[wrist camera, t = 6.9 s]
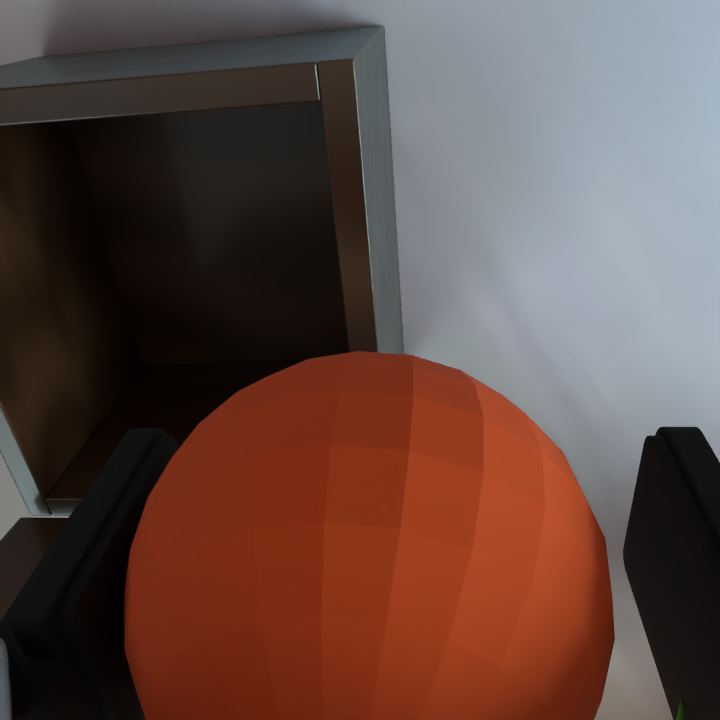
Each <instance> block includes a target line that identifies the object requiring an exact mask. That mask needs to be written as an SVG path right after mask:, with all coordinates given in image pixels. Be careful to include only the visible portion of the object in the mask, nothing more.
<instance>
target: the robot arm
mask: <svg viewBox="0 0 720 720" xmlns="http://www.w3.org/2000/svg"><path fill="white" fill-rule="evenodd" d="M177 451H178V446H177V442H176V440H175V438H174V437H172V436H167V434H166V432H165V431H164V430H163V429H160V428H140V429H130V430H128V432H127V433H126V434H125V435H124V437H123V439H122V440H121V442H120V443H119V445H118V446H117V448H116V449H115V451H114V452H113V454H112V455H111V457H110V458H109V460H108V461H107V463H106V465H105V466H104V468H103V469H102V471H101V472H100V474H99V475H98V477H97V478H96V480H95V481H94V483H93V484H92V486H91V487H90V489H89V491H88V492H87V494H86V495H85V497H84V498H83V500H82V501H81V503H80V504H78V506H77V507H76V508H75V509H74V510H73V512H72V513H71V515H70V516H69V518H68V519H67V521H66V522H65V524H64V525H63V527H62V528H61V530H60V531H59V533H58V535H57V536H56V538H55V539H54V541H53V542H52V544H51V545H50V547H49V548H48V550H47V551H46V553H45V554H44V556H43V557H42V559H41V560H40V562H39V563H38V565H37V566H36V568H35V569H34V571H33V573H32V574H31V576H30V577H29V579H28V580H27V582H26V583H25V585H24V586H23V588H22V589H21V591H20V592H19V594H18V595H17V597H16V598H15V600H14V601H13V603H12V604H11V606H10V608H9V609H8V611H7V612H6V614H5V615H4V617H3V618H2V620H1V621H0V720H142V718H143V715H144V713H143V710H142V707H141V704H140V701H139V698H138V695H137V692H136V689H135V686H134V682H133V679H132V675H131V672H130V668H129V664H128V661H127V657H126V654H125V650H124V597H125V583H126V576H127V569H128V562H129V555H130V549H131V546H132V543H133V540H134V537H135V534H136V531H137V528H138V525H139V522H140V519H141V516H142V513H143V510H144V507H145V504H146V501H147V498H148V497H149V495H150V493H151V491H152V490H153V488H154V486H155V485H156V483H157V481H158V480H159V478H160V476H161V475H162V473H163V471H164V470H165V468H166V466H167V465H168V463H169V461H170V460H171V458H172V457H173V456H174V454H175V453H176V452H177ZM623 559H624V566H625V570H626V573H627V576H628V579H629V583H630V586H631V589H632V592H633V595H634V598H635V601H636V604H637V608H638V611H639V614H640V617H641V620H642V623H643V626H644V629H645V632H646V636H647V639H648V642H649V645H650V648H651V651H652V654H653V657H654V660H655V664H656V667H657V670H658V673H659V676H660V679H661V682H662V685H663V688H664V692H665V695H666V698H667V701H668V704H669V707H670V710H671V713H672V716H673V720H676V719H677V714H678V709H679V704H680V700H681V702H682V705H683V720H720V462H719V461H718V459H717V457H716V456H715V454H714V452H713V450H712V449H711V447H710V445H709V444H708V442H707V440H706V438H705V437H704V435H703V433H702V432H701V430H700V429H699V428H697V427H660V428H659V429H658V430H657V432H656V436H647V437H646V439H645V442H644V446H643V451H642V456H641V461H640V466H639V471H638V476H637V481H636V487H635V492H634V497H633V502H632V507H631V512H630V517H629V522H628V527H627V532H626V537H625V542H624V548H623Z"/></svg>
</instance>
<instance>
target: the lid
mask: <svg viewBox="0 0 720 720" xmlns="http://www.w3.org/2000/svg"><path fill="white" fill-rule="evenodd" d="M67 519H68V518H20V519H19V520H18V522H16V523H15V525H14V526H13V527H12V528H11V529H10V530H9V531H8V533H7V534H6V535H5V536H4V538H2V539H1V541H0V621H1V620H2V618H3V617H4V615H5V614H6V612H7V611H8V609H9V608H10V606H11V604H12V603H13V601H14V600H15V598H16V597H17V595H18V594H19V592H20V591H21V589H22V588H23V586H24V585H25V583H26V582H27V580H28V579H29V577H30V576H31V574H32V573H33V571H34V569H35V568H36V566H37V565H38V563H39V562H40V560H41V559H42V557H43V556H44V554H45V553H46V551H47V550H48V548H49V547H50V545H51V544H52V542H53V541H54V539H55V538H56V536H57V535H58V533H59V531H60V530H61V528H62V527H63V525H64V524H65V522H66V521H67ZM142 720H146V719H145V716H144V715H143V718H142Z"/></svg>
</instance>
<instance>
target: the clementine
mask: <svg viewBox="0 0 720 720" xmlns="http://www.w3.org/2000/svg"><path fill="white" fill-rule="evenodd" d="M614 640H615V636H614V619H613V603H612V591H611V582H610V574H609V566H608V558H607V549H606V541H605V537H604V535H603V533H602V531H601V529H600V527H599V525H598V523H597V521H596V518H595V516H594V514H593V512H592V510H591V508H590V506H589V504H588V502H587V500H586V498H585V496H584V493H583V491H582V489H581V487H580V485H579V483H578V481H577V479H576V477H575V475H574V473H573V471H572V469H571V467H570V465H569V464H568V462H567V460H566V458H565V456H564V454H563V452H562V451H561V450H560V449H559V448H558V447H557V446H556V445H555V444H554V443H553V442H552V441H551V439H550V438H549V437H548V436H547V435H546V434H545V433H544V432H543V431H542V430H541V429H540V428H539V427H538V426H537V425H536V424H535V423H534V422H533V421H532V420H531V419H530V418H529V417H528V416H527V415H526V414H525V413H524V412H523V411H522V410H520V409H519V408H518V407H517V406H515V405H514V404H513V403H512V402H510V401H509V400H508V399H507V398H505V397H504V396H503V395H501V394H500V393H498V392H496V391H495V390H493V389H491V388H490V387H488V386H486V385H484V384H483V383H481V382H479V381H478V380H476V379H474V378H473V377H471V376H469V375H468V374H466V373H464V372H463V371H461V370H458V369H455V368H452V367H448V366H445V365H442V364H439V363H435V362H432V361H429V360H425V359H422V358H419V357H416V356H412V355H405V354H391V353H377V352H363V351H355V352H349V353H343V354H337V355H330V356H324V357H318V358H312V359H307V360H305V361H302V362H300V363H298V364H295V365H293V366H291V367H288V368H286V369H284V370H281V371H279V372H277V373H274V374H272V375H270V376H267V377H265V378H263V379H261V380H259V381H257V382H255V383H253V384H251V385H249V386H248V387H246V388H244V389H242V390H240V391H238V392H236V393H235V394H234V395H233V396H231V397H230V398H229V399H228V400H227V401H225V402H224V403H223V404H222V405H220V406H219V407H218V408H217V409H216V410H214V411H213V412H212V413H211V414H210V415H208V416H207V417H206V418H205V419H204V420H202V421H201V422H200V423H199V424H198V425H197V426H196V428H195V429H194V430H193V432H192V433H191V434H190V435H189V437H188V438H187V439H186V440H185V442H184V443H183V444H182V445H181V447H180V448H179V449H178V451H177V452H176V453H175V454H174V456H173V457H172V458H171V460H170V461H169V463H168V465H167V466H166V468H165V470H164V471H163V473H162V475H161V476H160V478H159V480H158V481H157V483H156V485H155V486H154V488H153V490H152V491H151V493H150V495H149V497H148V498H147V501H146V504H145V507H144V510H143V513H142V516H141V519H140V522H139V525H138V528H137V531H136V534H135V537H134V540H133V543H132V546H131V549H130V555H129V562H128V569H127V576H126V583H125V597H124V650H125V654H126V657H127V661H128V664H129V668H130V672H131V675H132V679H133V682H134V686H135V689H136V692H137V695H138V698H139V701H140V704H141V707H142V710H143V713H144V716H145V719H146V720H594V718H595V716H596V713H597V710H598V708H599V705H600V703H601V700H602V696H603V691H604V686H605V682H606V677H607V672H608V668H609V663H610V658H611V654H612V649H613V645H614ZM676 720H683V705H682V702H681V700H680V704H679V709H678V714H677V719H676Z"/></svg>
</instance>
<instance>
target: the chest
mask: <svg viewBox="0 0 720 720" xmlns="http://www.w3.org/2000/svg"><path fill="white" fill-rule="evenodd" d="M355 351H363V352H377V353H391V354H404V346H403V329H402V312H401V295H400V279H399V262H398V245H397V228H396V211H395V195H394V178H393V161H392V144H391V128H390V111H389V94H388V77H387V60H386V44H385V28H384V26H372V27H361V28H350V29H339V30H328V31H317V32H306V33H295V34H284V35H273V36H262V37H251V38H240V39H229V40H218V41H207V42H196V43H185V44H174V45H163V46H152V47H141V48H130V49H119V50H108V51H97V52H86V53H76V54H65V55H54V56H43V57H37V58H33V59H28V60H23V61H19V62H14V63H10V64H5V65H1V66H0V452H1V455H2V456H3V459H4V461H5V463H6V465H7V467H8V469H9V471H10V473H11V475H12V477H13V479H14V482H15V484H16V486H17V488H18V490H19V492H20V494H21V496H22V498H23V500H24V502H25V504H26V506H27V508H28V510H29V513H30V514H31V515H45V516H47V515H49V516H50V515H52V514H53V515H63V516H64V515H65V516H70V515H71V513H72V512H73V510H74V509H75V508H76V507H77V506H78V504H80V503H81V501H82V500H83V498H84V497H85V495H86V494H87V492H88V491H89V489H90V487H91V486H92V484H93V483H94V481H95V480H96V478H97V477H98V475H99V474H100V472H101V471H102V469H103V468H104V466H105V465H106V463H107V461H108V460H109V458H110V457H111V455H112V454H113V452H114V451H115V449H116V448H117V446H118V445H119V443H120V442H121V440H122V439H123V437H124V435H125V434H126V433H127V432H128V430H130V429H140V428H160V429H163V430H164V431H165V432H166V434H167V436H172V437H174V438H175V440H176V442H177V446H178V449H179V448H180V447H181V445H182V444H183V443H184V442H185V440H186V439H187V438H188V437H189V435H190V434H191V433H192V432H193V430H194V429H195V428H196V426H197V425H198V424H199V423H200V422H201V421H202V420H204V419H205V418H206V417H207V416H208V415H210V414H211V413H212V412H213V411H214V410H216V409H217V408H218V407H219V406H220V405H222V404H223V403H224V402H225V401H227V400H228V399H229V398H230V397H231V396H233V395H234V394H235V393H236V392H238V391H240V390H242V389H244V388H246V387H248V386H249V385H251V384H253V383H255V382H257V381H259V380H261V379H263V378H265V377H267V376H270V375H272V374H274V373H277V372H279V371H281V370H284V369H286V368H288V367H291V366H293V365H295V364H298V363H300V362H302V361H305V360H307V359H312V358H318V357H324V356H330V355H337V354H343V353H349V352H355Z"/></svg>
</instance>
